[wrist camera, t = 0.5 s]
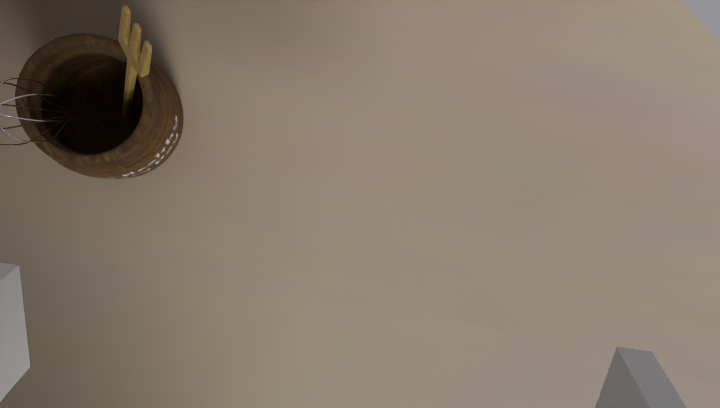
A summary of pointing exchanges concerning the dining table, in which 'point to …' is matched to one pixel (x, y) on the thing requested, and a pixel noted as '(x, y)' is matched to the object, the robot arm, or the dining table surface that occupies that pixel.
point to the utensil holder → (99, 104)
